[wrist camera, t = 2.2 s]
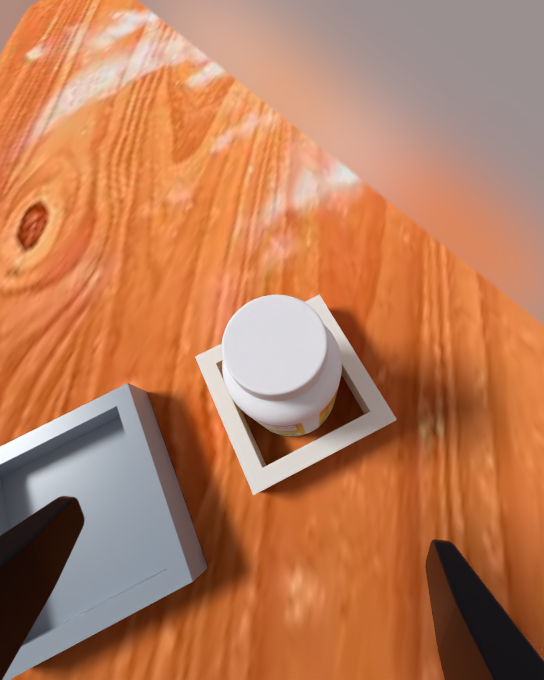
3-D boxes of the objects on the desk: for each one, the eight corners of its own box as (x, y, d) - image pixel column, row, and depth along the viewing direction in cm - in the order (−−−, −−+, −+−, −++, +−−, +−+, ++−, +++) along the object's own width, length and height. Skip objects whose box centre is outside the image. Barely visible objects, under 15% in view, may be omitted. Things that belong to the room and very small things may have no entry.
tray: (207, 567, 19) (192, 581, 17) (22, 666, 19) (-20, 694, 16) (146, 391, 23) (127, 383, 21) (-8, 469, 22) (-45, 469, 20)
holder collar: (389, 423, 20) (396, 419, 19) (259, 492, 20) (253, 494, 18) (319, 308, 24) (319, 294, 22) (204, 365, 23) (195, 356, 21)
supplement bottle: (308, 338, 23) (303, 254, 14) (351, 411, 21) (378, 369, 12) (236, 376, 23) (181, 315, 14) (272, 453, 21) (238, 443, 12)
